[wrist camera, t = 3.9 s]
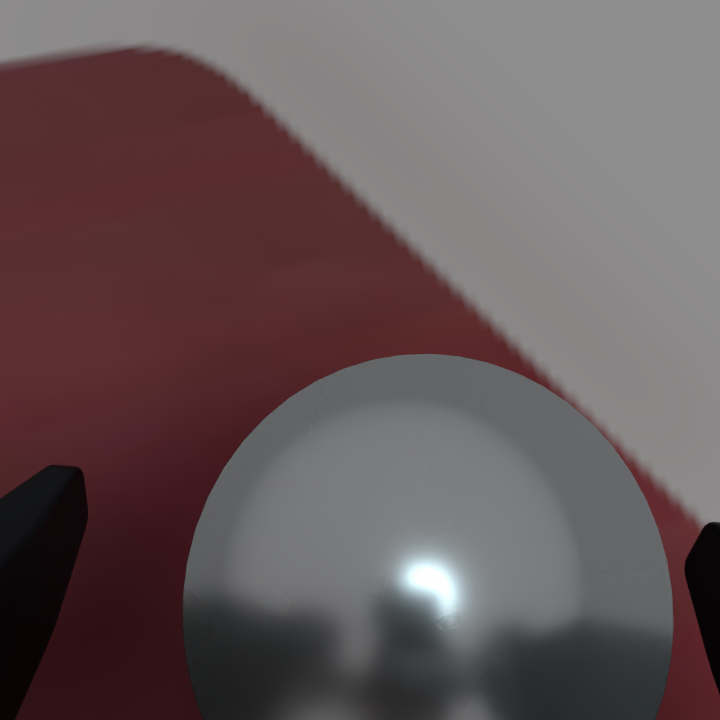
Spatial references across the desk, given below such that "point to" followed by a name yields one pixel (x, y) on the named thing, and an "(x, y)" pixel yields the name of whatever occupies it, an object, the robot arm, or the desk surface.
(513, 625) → the silver metal cylinder
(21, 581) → the robot arm
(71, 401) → the desk surface
